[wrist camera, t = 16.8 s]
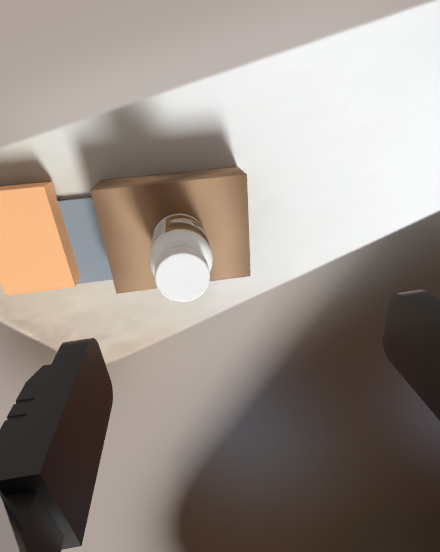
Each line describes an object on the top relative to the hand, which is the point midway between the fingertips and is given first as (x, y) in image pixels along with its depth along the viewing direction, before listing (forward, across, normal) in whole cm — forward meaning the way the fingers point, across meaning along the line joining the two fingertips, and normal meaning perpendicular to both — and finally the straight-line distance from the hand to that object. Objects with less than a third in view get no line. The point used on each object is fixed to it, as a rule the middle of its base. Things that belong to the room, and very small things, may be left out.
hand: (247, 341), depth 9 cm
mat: (+23, +13, +4) cm, 26 cm away
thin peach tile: (+20, +15, +3) cm, 26 cm away
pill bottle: (+19, +2, +4) cm, 20 cm away
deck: (+23, +2, +4) cm, 23 cm away
